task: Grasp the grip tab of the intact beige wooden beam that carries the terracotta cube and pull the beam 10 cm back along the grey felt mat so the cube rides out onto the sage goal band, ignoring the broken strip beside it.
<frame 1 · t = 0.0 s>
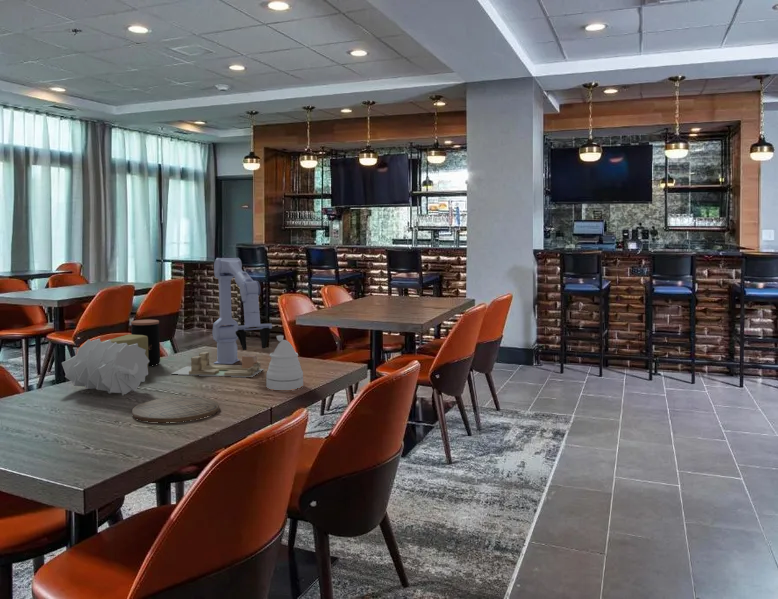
hand: (254, 349, 246), 11 cm above the table, tool pointing down, fingers open, 7 cm apart
broken strip: (221, 374, 250), resting on mat
trivet: (176, 413, 198), on the table
mat: (218, 372, 254), on the table
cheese: (120, 378, 243), on the table
honey pot: (284, 387, 231), on the table
coffee jar: (146, 365, 267), on the table
cube: (249, 367, 256), point 2 cm above the table, touching beige wooden beam
beige wooden beam: (228, 361, 257), point 4 cm above the table, slide at 0.0 cm, touching cube
white spiky cylinder: (108, 391, 223), on the table
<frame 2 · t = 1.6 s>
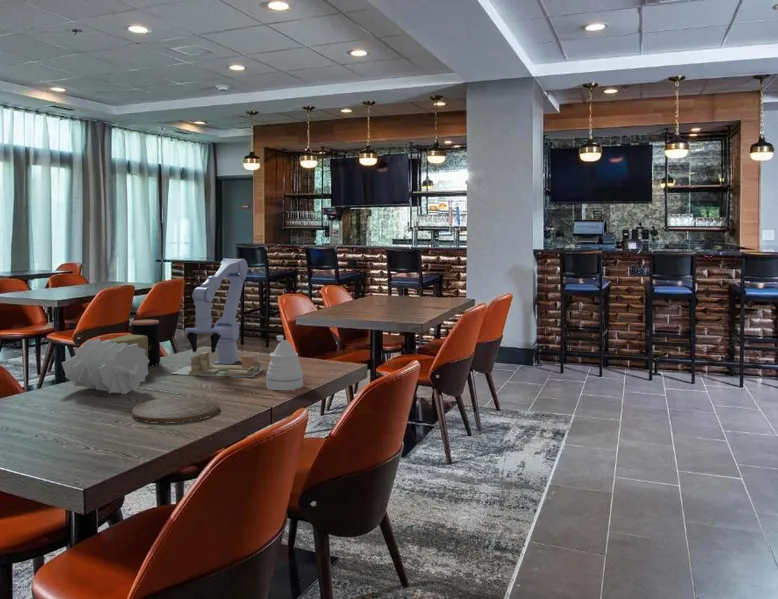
hand: (204, 352, 258), 7 cm above the table, tool pointing down, fingers open, 7 cm apart
nothing on the table moved.
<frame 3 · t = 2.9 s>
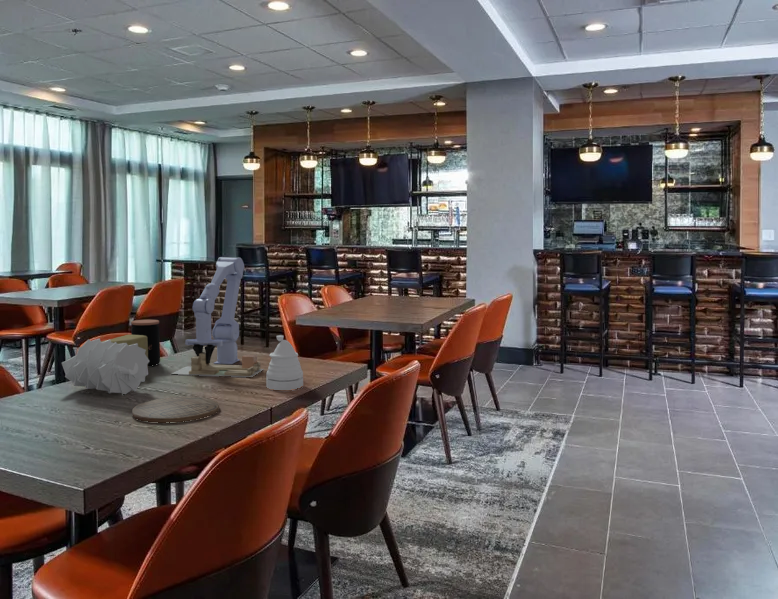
hand: (204, 363, 258), 3 cm above the table, tool pointing down, fingers closed on beige wooden beam, 2 cm apart
beige wooden beam: (228, 361, 257), point 4 cm above the table, slide at 0.0 cm, touching cube, gripper
everything else where it was.
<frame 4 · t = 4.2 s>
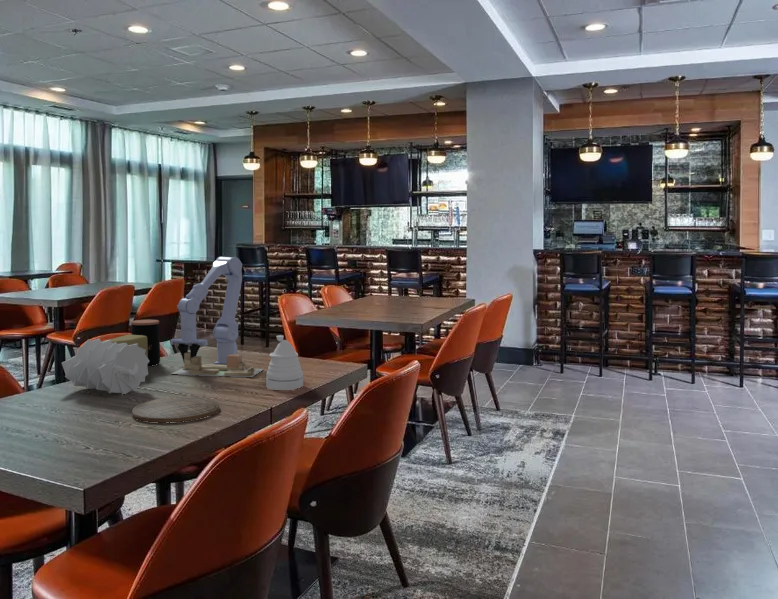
hand: (189, 362, 259), 3 cm above the table, tool pointing down, fingers closed on beige wooden beam, 2 cm apart
cube: (234, 366, 257), point 2 cm above the table, touching beige wooden beam
beige wooden beam: (213, 360, 258), point 4 cm above the table, slide at 6.2 cm, touching cube, gripper
everything else where it was.
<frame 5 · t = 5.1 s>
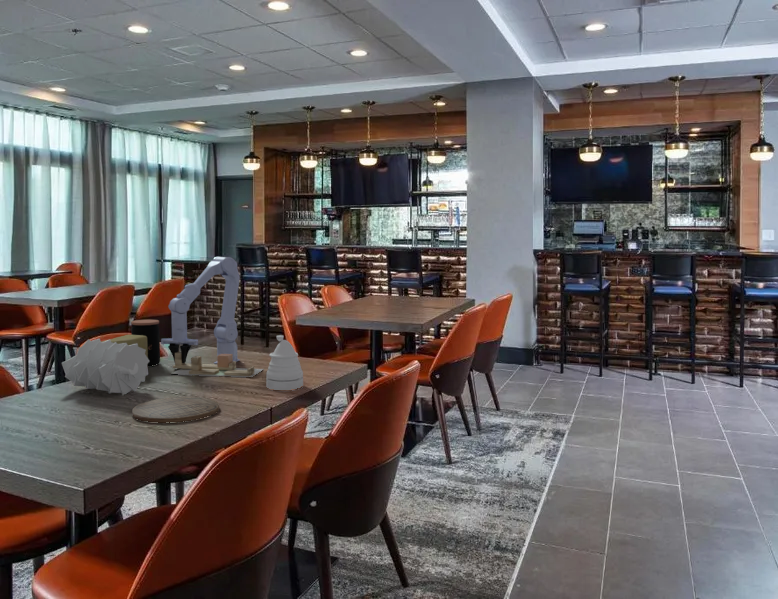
hand: (180, 362, 259), 3 cm above the table, tool pointing down, fingers closed on beige wooden beam, 2 cm apart
cube: (225, 366, 257), point 2 cm above the table, touching beige wooden beam
beige wooden beam: (204, 360, 258), point 4 cm above the table, slide at 10.0 cm, touching cube, gripper
everything else where it was.
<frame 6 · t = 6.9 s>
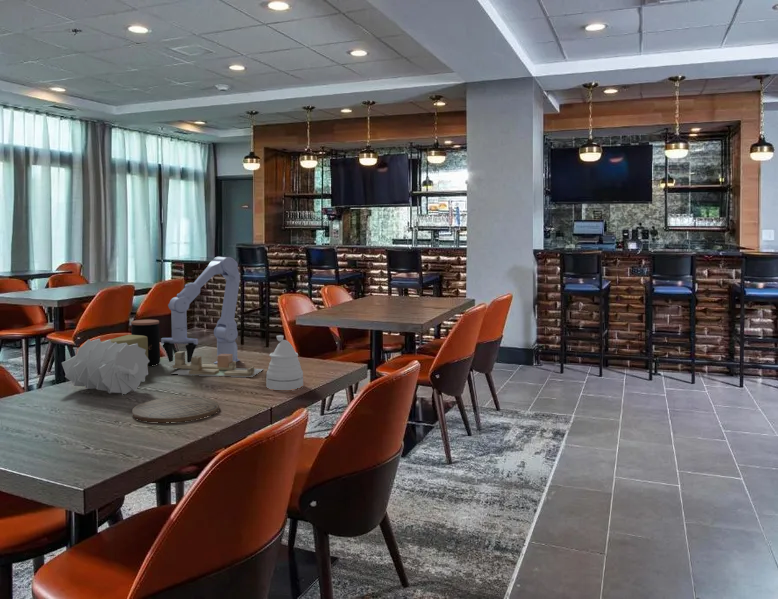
hand: (180, 361, 259), 3 cm above the table, tool pointing down, fingers open, 7 cm apart
beige wooden beam: (204, 360, 258), point 4 cm above the table, slide at 10.0 cm, touching cube
everything else where it was.
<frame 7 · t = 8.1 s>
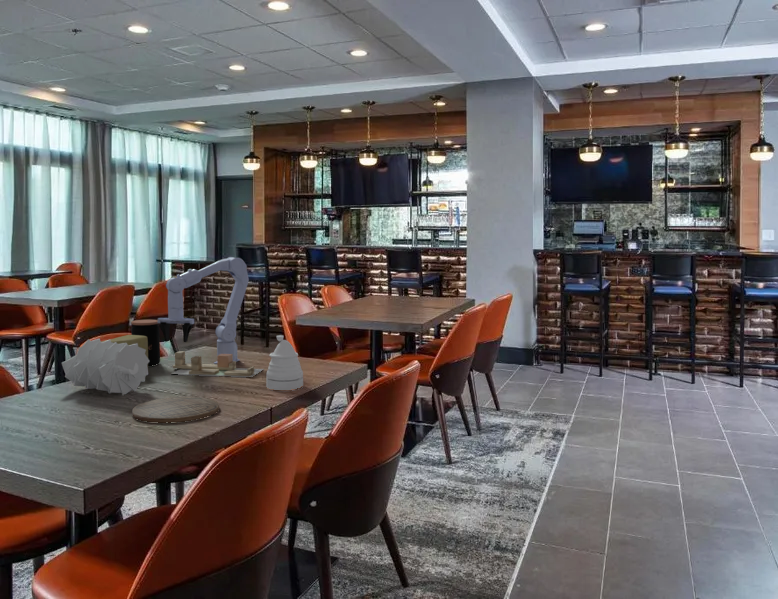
hand: (176, 341, 262), 10 cm above the table, tool pointing down, fingers open, 7 cm apart
nothing on the table moved.
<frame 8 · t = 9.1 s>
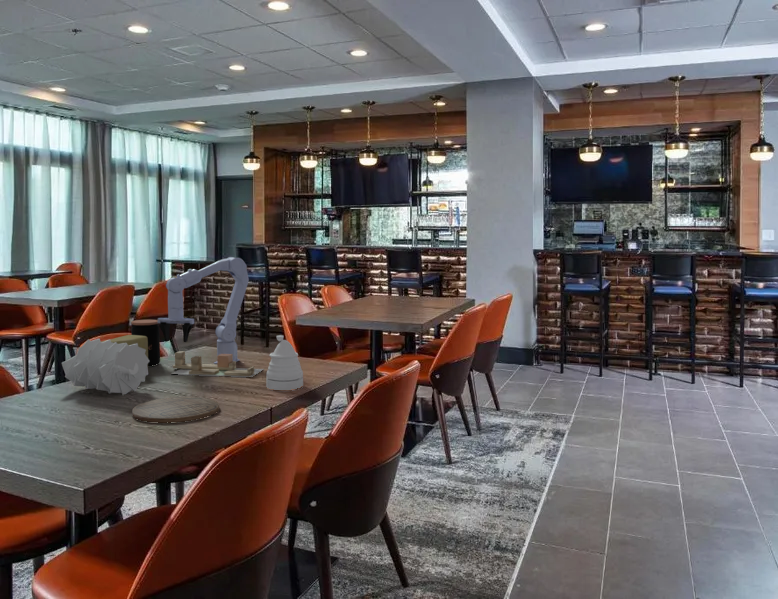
hand: (176, 341, 262), 10 cm above the table, tool pointing down, fingers open, 7 cm apart
nothing on the table moved.
at the end: beige wooden beam slide at 10.0 cm; cube inside the target area (0.0 cm from its centre), point 1.8 cm above the table; cube tilted 0° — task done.
